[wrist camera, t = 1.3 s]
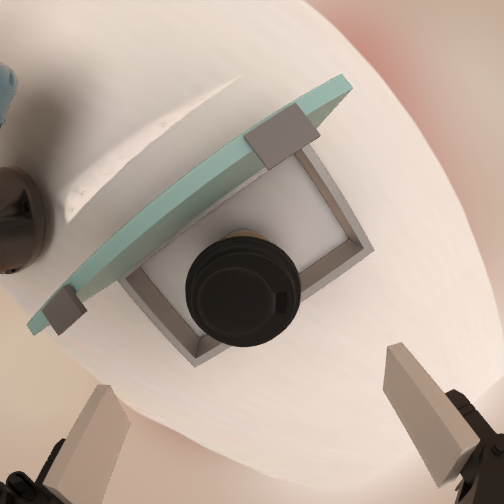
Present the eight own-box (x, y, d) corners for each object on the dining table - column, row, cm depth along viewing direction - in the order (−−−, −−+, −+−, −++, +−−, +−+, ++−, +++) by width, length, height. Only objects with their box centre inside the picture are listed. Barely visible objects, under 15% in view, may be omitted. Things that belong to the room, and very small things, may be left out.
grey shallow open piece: (128, 263, 36) (114, 276, 31) (295, 140, 33) (303, 135, 28) (199, 346, 40) (194, 367, 35) (358, 240, 36) (374, 250, 32)
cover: (121, 290, 31) (110, 274, 31) (314, 149, 28) (301, 130, 28) (37, 355, 15) (19, 329, 15) (373, 102, 12) (346, 67, 12)
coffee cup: (293, 267, 37) (323, 324, 23) (227, 300, 38) (220, 370, 23) (259, 200, 35) (271, 218, 20) (190, 236, 36) (157, 278, 21)
